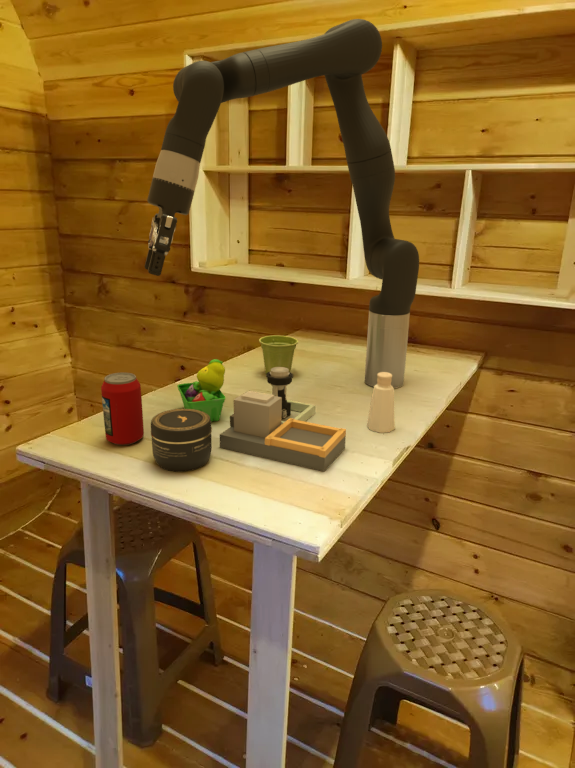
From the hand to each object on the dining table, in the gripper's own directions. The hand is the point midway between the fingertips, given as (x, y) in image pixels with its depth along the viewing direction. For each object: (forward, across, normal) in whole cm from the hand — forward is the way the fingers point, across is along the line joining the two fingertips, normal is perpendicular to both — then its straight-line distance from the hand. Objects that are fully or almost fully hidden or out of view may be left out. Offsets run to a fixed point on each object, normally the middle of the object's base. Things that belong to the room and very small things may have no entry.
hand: (151, 272), depth 106 cm
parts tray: (+21, -4, -30) cm, 37 cm away
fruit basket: (+25, +2, -17) cm, 30 cm away
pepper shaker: (+16, -13, -48) cm, 52 cm away
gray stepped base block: (+22, -17, -28) cm, 40 cm away
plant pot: (+18, +23, -38) cm, 47 cm away
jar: (+28, -17, -11) cm, 35 cm away
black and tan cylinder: (+21, -4, -30) cm, 37 cm away
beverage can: (+30, -6, -2) cm, 31 cm away
